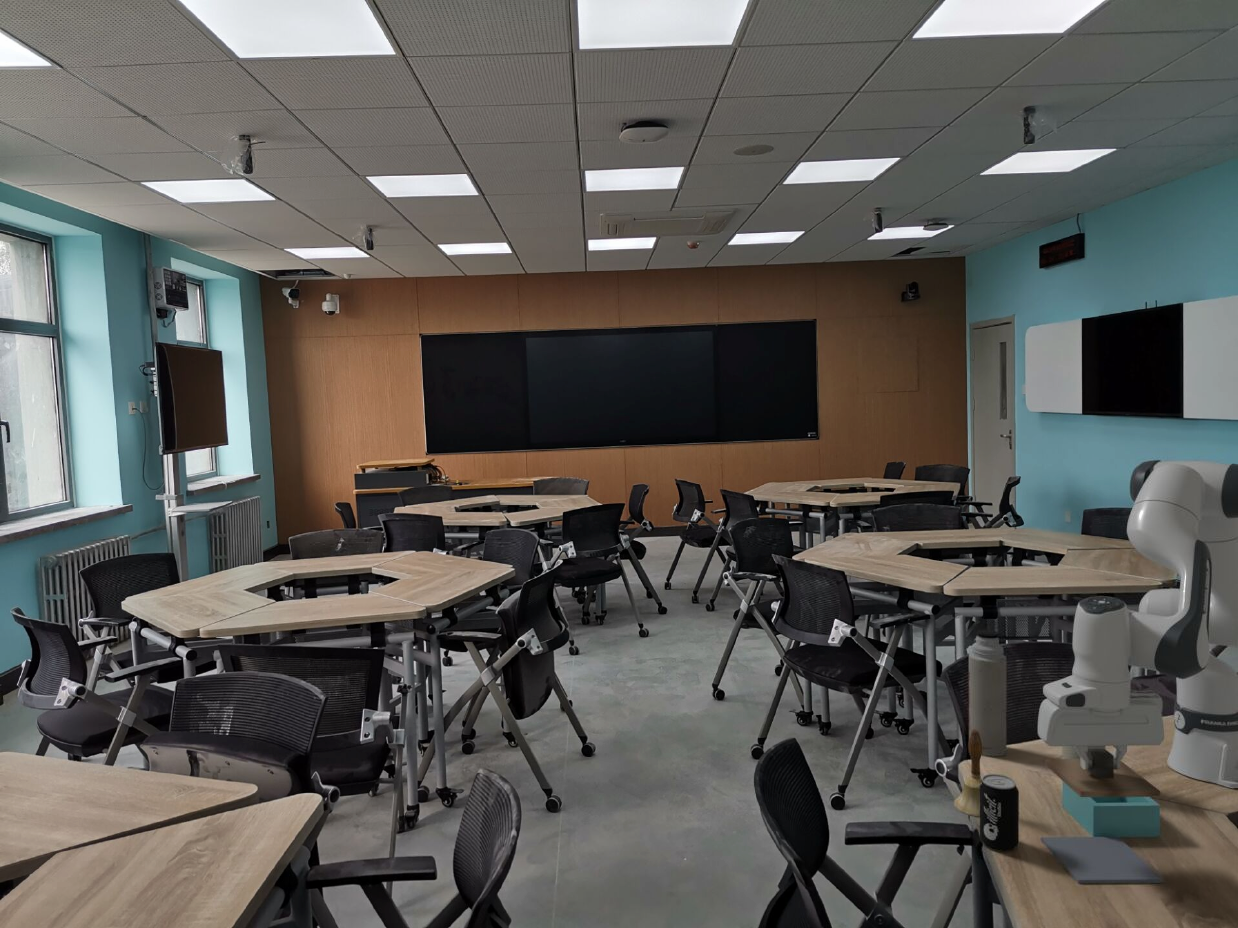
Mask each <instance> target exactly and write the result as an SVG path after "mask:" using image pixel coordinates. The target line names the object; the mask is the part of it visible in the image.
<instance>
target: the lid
mask: <svg viewBox="0 0 1238 928" xmlns="http://www.w3.org/2000/svg"><path fill="white" fill-rule="evenodd" d="M1087 757H1090V758H1091V759H1092V760H1094V765H1093V766H1094V769H1093V770H1084V769H1083V768H1082V767H1081V764H1080V759H1062V758H1056V759H1054V758H1047V759H1046V758H1045V761H1044V764H1045V766H1046V767H1047V768H1048V769H1049V770H1050V771H1051V772H1052V773H1053V774H1055V775H1056V776H1057V777H1058V778H1059V779H1060V780H1061V781H1062V782H1063V781H1064V782H1065V783H1066V784H1067V785H1068V786H1069V787H1070V788H1071V789H1072V790H1073V791H1074V792H1075V793H1077V794H1078V795H1079V796H1080V797H1150V798H1153V797H1154V798H1156V797H1157V798H1160V797H1161V790H1159V789H1158V788H1157V787H1156V786H1154V784H1151V782H1149V781H1148V780H1147V779H1145V778H1144V777H1143V776H1141V775H1140V774H1139V773H1137V772H1136V771H1135V770H1134V769H1132V768H1131V767H1130V766H1129V765H1127V764H1126V763H1124V762H1123V761H1122V760H1120V769H1119V770H1114V755H1112V753H1111V752H1110V751H1108V749H1106V748H1105V749H1088V751H1087Z"/></svg>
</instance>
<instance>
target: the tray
mask: <svg viewBox="0 0 1238 928" xmlns="http://www.w3.org/2000/svg"><path fill="white" fill-rule="evenodd" d="M1040 841H1041V842H1042V844H1043V845H1044V846H1045V847H1046V848H1047V849H1048V851H1049V852H1050V853H1051V854H1052V855H1053V857H1054V858H1055V859H1056V860H1057V861H1058V862H1059V863H1060V864H1061V865H1062V866H1063V867H1064V869H1065V870H1066V871H1067V872H1068V873H1069V875H1070V876H1071V877H1072V878H1073V879H1074V880H1075V882H1077V883H1078V884H1136V883H1135V882H1138V883H1137V884H1160V883H1161V884H1162V883H1164V878H1163V877H1162V876H1161V875H1159V873H1157V872H1156V870H1154V869H1153V868H1152V866H1150V865H1149V864H1148V863H1147V862H1146V860H1143V859H1142V858H1141V857H1140V855H1138V854H1137V853H1136V852H1135V851H1134V850H1133V849H1132V848H1131V847H1130V846H1129V845H1128V844H1126V842H1124V841H1123V839H1121V837H1092V836H1062V837H1060V836H1052V837H1051V836H1049V837H1048V836H1043V837H1040ZM1141 882H1142V883H1141Z"/></svg>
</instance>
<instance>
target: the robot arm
mask: <svg viewBox="0 0 1238 928" xmlns="http://www.w3.org/2000/svg"><path fill="white" fill-rule="evenodd" d="M1129 495H1130V498H1131V500H1132V501H1133V506H1132V509H1131V511H1130V514H1129V515H1128V520H1127V525H1126V534H1127V537H1128V540H1129V542H1130V544H1131V545H1132V546H1133V548H1134V549H1135V550H1136V551H1137V552H1138V554H1139V553H1140V555H1142V556H1143V557H1145V558H1146V559H1147V560H1149V561H1151V562H1153V563H1155V564H1157V565H1159V566H1161V567H1163V568H1166V569H1169V570H1170V571H1172V572H1174V573H1175V574H1177V575H1178V576H1180V584H1179V588H1160V589H1150V590H1149V591H1148V592H1146V594H1144V595H1143V597H1142V598H1141V600H1140V602H1139V605H1138V610H1130V609H1128V607H1127V604H1126V603H1125V601H1123V599H1122V600H1121V599H1120V598H1117V597H1113V596H1107V595H1105V596H1104V595H1097V596H1089V597H1086V598H1084V599H1082V600H1080V601H1079V602H1078V603H1077V607H1076V609H1075V614H1074V620H1073V628H1072V629H1073V630H1072V651H1073V655H1074V663H1073V667H1072V670H1071V671H1072V674H1071V675H1069V676H1067V677H1063V678H1061V679H1059V680H1054V681H1052V682H1049V683H1046V684H1044V686H1042V693H1043V695H1044V696H1045V697H1046V698H1045V699H1043V700H1042V702H1041V703H1040V706H1039V710H1038V711H1039V712H1038V716H1037V717H1038V718H1037V735H1038V737H1039V738H1040V739H1041V741H1043V743H1044V744H1045V745H1047V746H1049V747H1062V746H1074V748H1075V750H1076V751H1077V753H1078V754H1079V756H1080V764H1081V767H1082V768H1083V769H1084V770H1093V769H1094V766H1093V765H1094V760H1092V759H1091V758H1090V757H1087V756H1086V754H1085V752H1087V751H1088V746H1105V747H1110V746H1111V747H1113V748H1114V750H1113V752H1112V753H1111V754H1112V755H1114V770H1119V769H1120V761H1122V759H1123V758H1124V757H1125V755H1126V753H1127V752H1128V747H1129V746H1131V747H1132V746H1160V745H1161V744H1163V742H1164V741H1165V727H1164V721H1163V720H1164V719H1163V714H1162V713H1163V699H1162V697H1161V695H1159V694H1158V693H1156V692H1154V691H1153V690H1131V673H1130V670H1129V666H1130V667H1136V668H1141V669H1145V670H1149V671H1150V670H1151V671H1156V672H1158V673H1160V674H1163V675H1168V676H1170V677H1174V678H1176V699H1175V701H1174V708H1173V723H1174V734H1173V740H1172V744H1171V748H1170V749H1171V750H1170V752H1169V755H1168V758H1167V759H1166V763H1167V766H1168V767H1170V769H1172V770H1174V771H1175V772H1177V773H1179V774H1181V775H1184V776H1186V777H1189V778H1192V779H1196V780H1199V781H1204V782H1208V783H1214V784H1217V785H1220V786H1222V787H1223V786H1224V787H1226V788H1230V789H1234V788H1238V673H1237V671H1236V670H1235V669H1234V668H1233V667H1232V666H1231V665H1230V664H1228V663H1227V662H1225V661H1223V660H1222V659H1220V658H1218V657H1216V656H1215V655H1213V654H1212V652H1210V645H1211V644H1212V645H1218V646H1224V647H1232V648H1233V647H1234V648H1238V464H1237V463H1231V464H1230V463H1229V464H1228V463H1222V462H1215V461H1207V460H1199V459H1198V460H1167V461H1166V460H1164V461H1161V460H1159V459H1156V460H1155V459H1154V460H1147V461H1144V462H1141V463H1140V464H1138V465H1137V466H1135V468H1134V469H1133V470H1132V473H1131V476H1130V480H1129ZM1084 751H1085V752H1084Z"/></svg>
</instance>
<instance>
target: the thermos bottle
mask: <svg viewBox="0 0 1238 928" xmlns="http://www.w3.org/2000/svg"><path fill="white" fill-rule="evenodd" d="M975 633H976V637H975V642H974V643H973V644H972V645H971V649H970V650H971V652H969V654H968V739H969V738H970V735H971V731H972V730H977V731H978V732H979V736H980V738H981V741H982V754H983V755H982V756H985V757H993V758H994V757H1001V756H1004V755H1006V754H1007V656H1006V655H1004V647H1003V646H1002V645H1001V644H1000V633H999V632H998V631H996V630H992V629H979V630H977V631H976V632H975Z"/></svg>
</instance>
